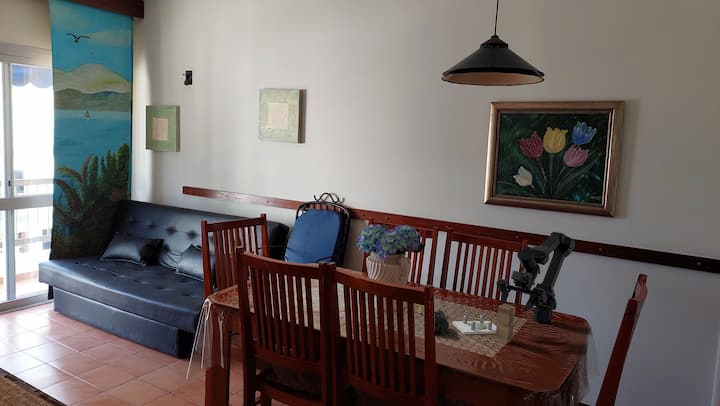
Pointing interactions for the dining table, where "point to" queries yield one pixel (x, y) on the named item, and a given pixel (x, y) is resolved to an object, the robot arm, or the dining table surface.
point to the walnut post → (505, 323)
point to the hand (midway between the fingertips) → (512, 308)
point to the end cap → (441, 323)
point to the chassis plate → (475, 326)
